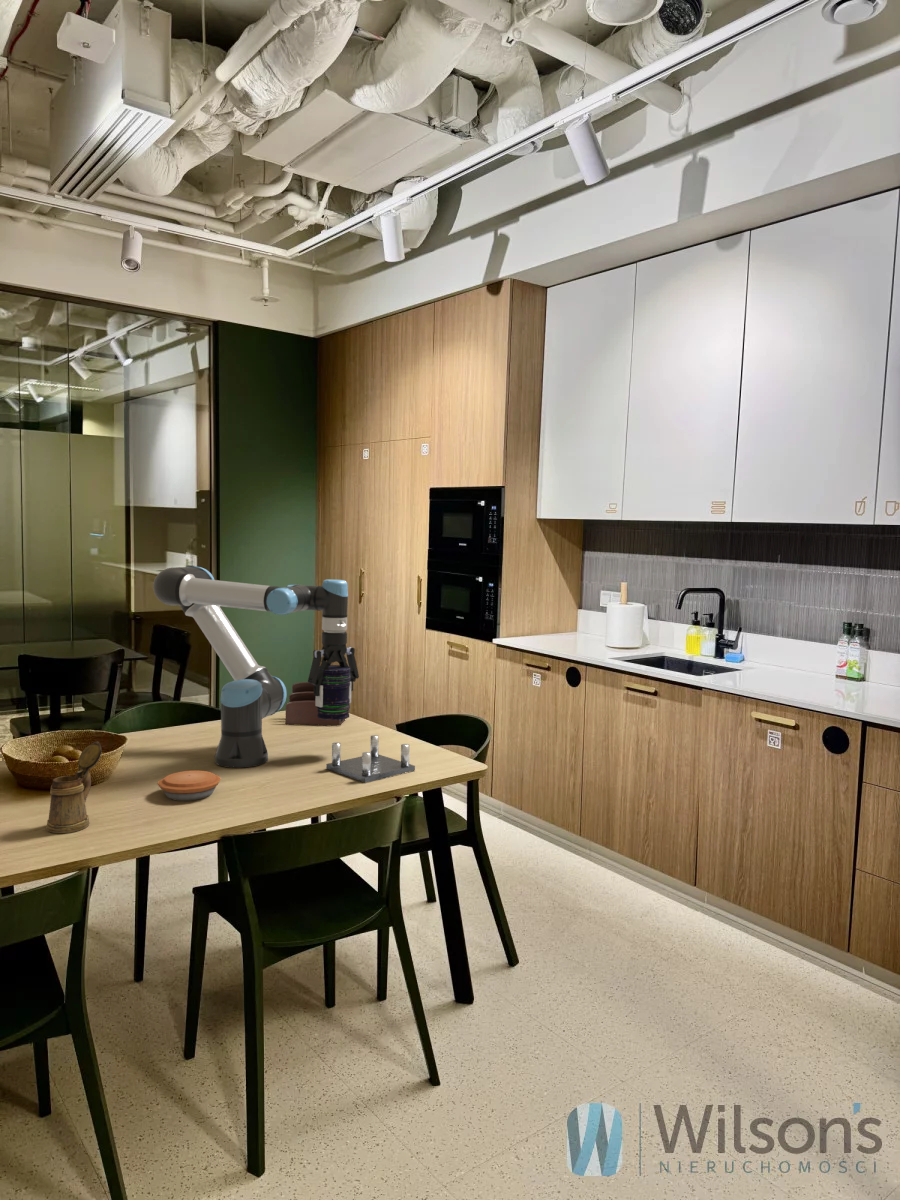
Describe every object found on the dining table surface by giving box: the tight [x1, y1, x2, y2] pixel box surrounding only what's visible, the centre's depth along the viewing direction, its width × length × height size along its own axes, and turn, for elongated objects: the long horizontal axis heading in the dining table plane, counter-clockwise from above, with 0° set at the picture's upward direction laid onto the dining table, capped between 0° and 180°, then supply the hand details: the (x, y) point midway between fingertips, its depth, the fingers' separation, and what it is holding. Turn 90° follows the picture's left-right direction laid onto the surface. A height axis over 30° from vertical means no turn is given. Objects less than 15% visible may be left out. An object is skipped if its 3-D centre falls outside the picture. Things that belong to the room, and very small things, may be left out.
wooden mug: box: [45, 740, 103, 834], centre depth 195 cm, size 9×14×18 cm, turn 153°
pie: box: [157, 770, 222, 802], centre depth 219 cm, size 15×16×5 cm
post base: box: [325, 734, 416, 784], centre depth 243 cm, size 18×18×8 cm
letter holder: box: [285, 681, 346, 726], centre depth 303 cm, size 10×20×14 cm, turn 85°
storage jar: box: [317, 664, 351, 720], centre depth 257 cm, size 10×10×15 cm
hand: (333, 704), depth 257 cm, fingers closed on storage jar, 10 cm apart
